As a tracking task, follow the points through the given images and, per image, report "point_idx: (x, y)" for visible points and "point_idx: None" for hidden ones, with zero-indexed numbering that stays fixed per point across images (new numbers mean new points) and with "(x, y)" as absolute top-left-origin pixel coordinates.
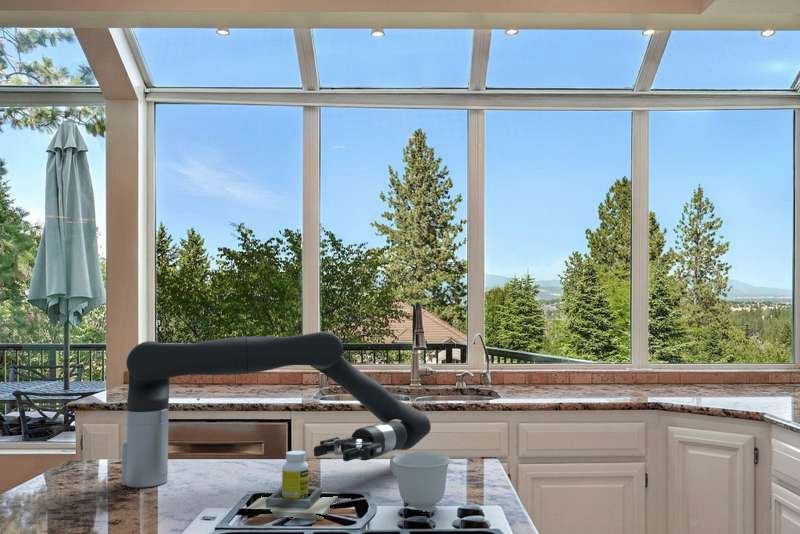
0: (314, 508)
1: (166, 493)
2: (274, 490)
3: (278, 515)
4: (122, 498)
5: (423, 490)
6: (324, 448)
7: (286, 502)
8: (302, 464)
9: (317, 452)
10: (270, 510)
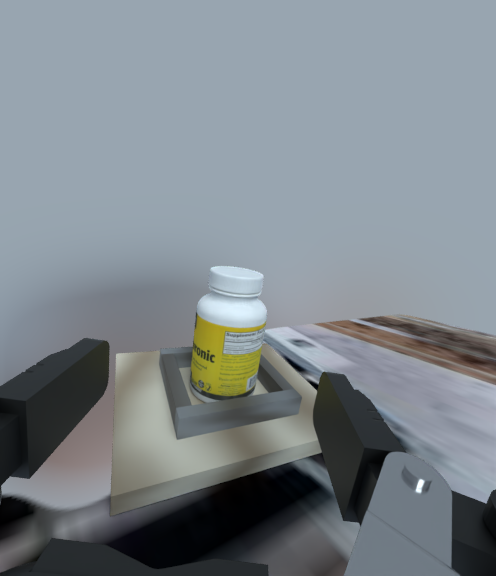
0: (147, 366)
1: (492, 389)
2: None
3: None
4: (479, 362)
5: None
6: (342, 444)
7: None
8: (207, 294)
9: (319, 404)
10: None
